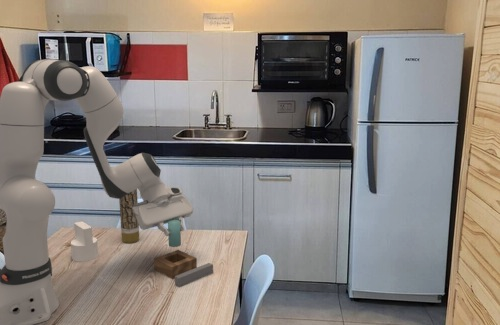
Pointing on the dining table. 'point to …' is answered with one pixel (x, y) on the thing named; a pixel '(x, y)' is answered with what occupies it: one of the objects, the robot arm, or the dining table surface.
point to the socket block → (174, 263)
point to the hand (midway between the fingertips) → (175, 232)
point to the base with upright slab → (83, 243)
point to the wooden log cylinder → (129, 218)
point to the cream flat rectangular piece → (193, 274)
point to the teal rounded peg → (174, 233)
